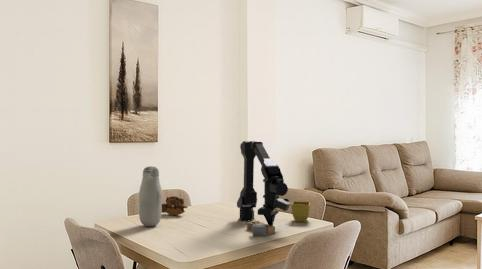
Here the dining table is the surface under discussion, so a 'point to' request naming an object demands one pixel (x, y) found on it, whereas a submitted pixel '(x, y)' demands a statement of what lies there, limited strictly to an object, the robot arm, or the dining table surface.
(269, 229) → the link
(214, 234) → the dining table surface
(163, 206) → the wooden carving
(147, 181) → the grey tall rounded cylinder
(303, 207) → the flower pot
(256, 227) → the keeper
